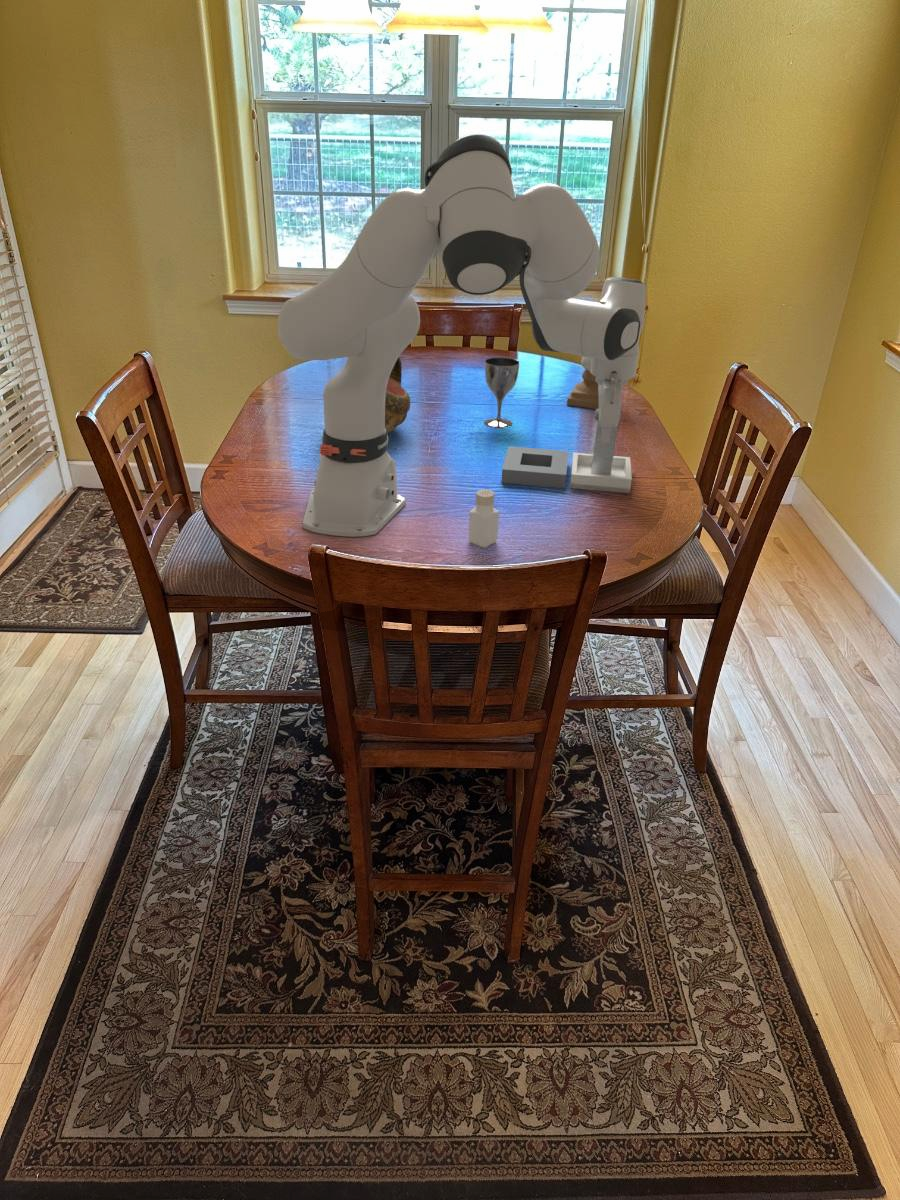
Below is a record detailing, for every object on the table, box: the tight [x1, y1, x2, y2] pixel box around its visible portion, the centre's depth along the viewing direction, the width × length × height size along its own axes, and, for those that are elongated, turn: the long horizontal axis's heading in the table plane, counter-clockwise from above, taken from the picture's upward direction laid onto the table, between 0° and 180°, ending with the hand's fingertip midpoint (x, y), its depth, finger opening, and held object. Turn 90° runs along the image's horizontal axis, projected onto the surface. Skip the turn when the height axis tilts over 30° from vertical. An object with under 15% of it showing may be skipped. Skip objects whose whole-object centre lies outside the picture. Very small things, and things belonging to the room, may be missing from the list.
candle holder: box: [566, 356, 599, 410], centre depth 204 cm, size 11×11×24 cm
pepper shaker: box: [467, 488, 500, 548], centre depth 140 cm, size 4×4×10 cm
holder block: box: [501, 446, 570, 489], centre depth 168 cm, size 13×13×3 cm
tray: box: [569, 452, 633, 494], centre depth 167 cm, size 12×12×3 cm
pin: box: [591, 408, 623, 476], centre depth 163 cm, size 5×5×14 cm
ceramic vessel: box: [385, 356, 412, 435], centre depth 179 cm, size 17×26×25 cm, turn 161°
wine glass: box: [483, 356, 520, 429], centre depth 191 cm, size 8×8×15 cm
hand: (604, 433), depth 163 cm, fingers open, 8 cm apart
